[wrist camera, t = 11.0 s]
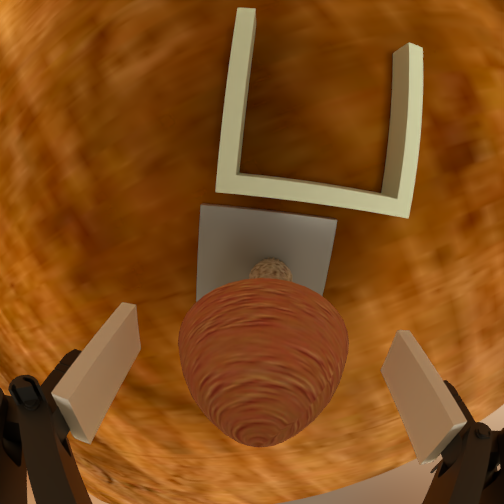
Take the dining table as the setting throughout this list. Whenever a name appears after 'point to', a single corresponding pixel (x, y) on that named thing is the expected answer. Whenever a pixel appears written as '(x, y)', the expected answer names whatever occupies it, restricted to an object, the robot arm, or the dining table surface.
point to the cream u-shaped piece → (387, 202)
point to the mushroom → (263, 355)
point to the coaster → (261, 245)
